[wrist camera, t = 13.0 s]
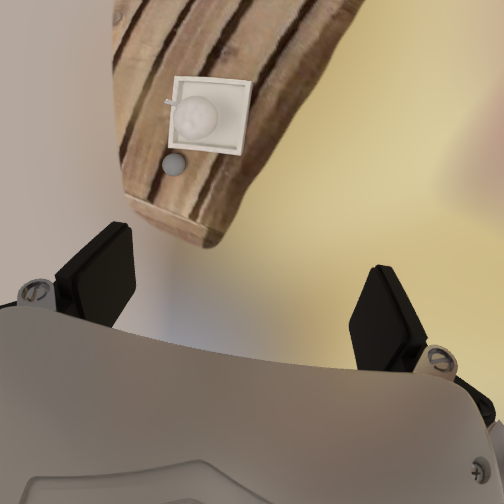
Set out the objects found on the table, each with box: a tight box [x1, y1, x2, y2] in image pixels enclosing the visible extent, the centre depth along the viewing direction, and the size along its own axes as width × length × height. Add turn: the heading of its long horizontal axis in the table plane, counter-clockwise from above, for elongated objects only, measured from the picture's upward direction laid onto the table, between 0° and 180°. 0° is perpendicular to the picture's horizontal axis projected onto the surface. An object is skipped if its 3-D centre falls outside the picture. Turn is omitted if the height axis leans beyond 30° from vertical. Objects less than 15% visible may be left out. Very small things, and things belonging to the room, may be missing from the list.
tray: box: [168, 76, 253, 156], centre depth 33 cm, size 9×9×2 cm
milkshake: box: [164, 96, 225, 140], centre depth 29 cm, size 5×5×10 cm
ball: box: [162, 153, 185, 176], centre depth 36 cm, size 3×3×3 cm
